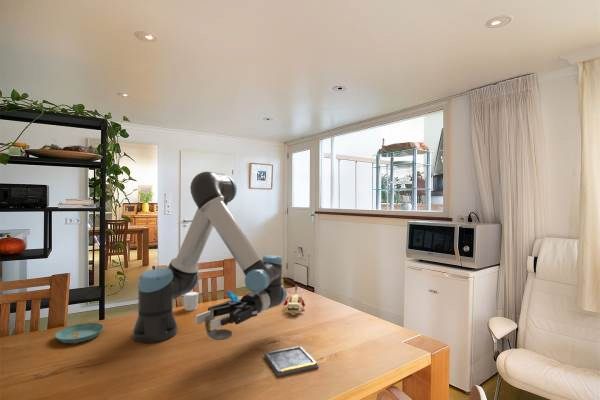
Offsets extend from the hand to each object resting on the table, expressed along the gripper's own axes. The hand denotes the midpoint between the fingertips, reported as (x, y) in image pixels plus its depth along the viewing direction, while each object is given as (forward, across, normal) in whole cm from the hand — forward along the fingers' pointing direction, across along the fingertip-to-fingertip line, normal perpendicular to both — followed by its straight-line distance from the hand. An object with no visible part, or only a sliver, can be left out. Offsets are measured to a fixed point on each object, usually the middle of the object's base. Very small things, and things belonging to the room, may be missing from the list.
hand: (203, 322), depth 97 cm
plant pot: (-66, +25, -14) cm, 72 cm away
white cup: (-33, +46, -14) cm, 59 cm away
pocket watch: (-5, -1, -6) cm, 8 cm away
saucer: (+10, +54, -15) cm, 57 cm away
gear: (-46, +32, -14) cm, 58 cm away
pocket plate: (-18, -20, -13) cm, 30 cm away
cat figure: (-62, +8, -14) cm, 64 cm away
